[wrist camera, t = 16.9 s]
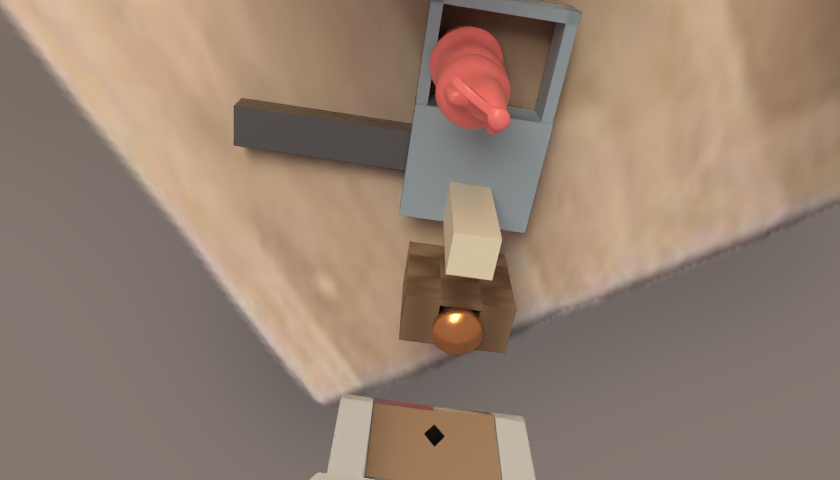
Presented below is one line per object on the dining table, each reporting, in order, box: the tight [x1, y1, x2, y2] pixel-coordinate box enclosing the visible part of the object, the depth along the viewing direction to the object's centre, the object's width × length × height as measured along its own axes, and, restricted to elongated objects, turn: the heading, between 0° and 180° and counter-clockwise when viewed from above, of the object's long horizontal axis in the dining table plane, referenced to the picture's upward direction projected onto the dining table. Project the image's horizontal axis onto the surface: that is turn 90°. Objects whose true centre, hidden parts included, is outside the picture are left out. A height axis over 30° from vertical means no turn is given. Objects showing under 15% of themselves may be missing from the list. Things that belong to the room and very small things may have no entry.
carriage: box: [399, 0, 581, 280], centre depth 40 cm, size 10×16×11 cm, turn 171°
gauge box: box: [399, 242, 516, 353], centre depth 48 cm, size 8×4×8 cm, turn 81°
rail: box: [234, 98, 412, 170], centre depth 46 cm, size 22×3×2 cm, turn 81°
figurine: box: [430, 26, 511, 135], centre depth 37 cm, size 5×5×15 cm
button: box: [432, 306, 483, 355], centre depth 47 cm, size 4×4×7 cm
